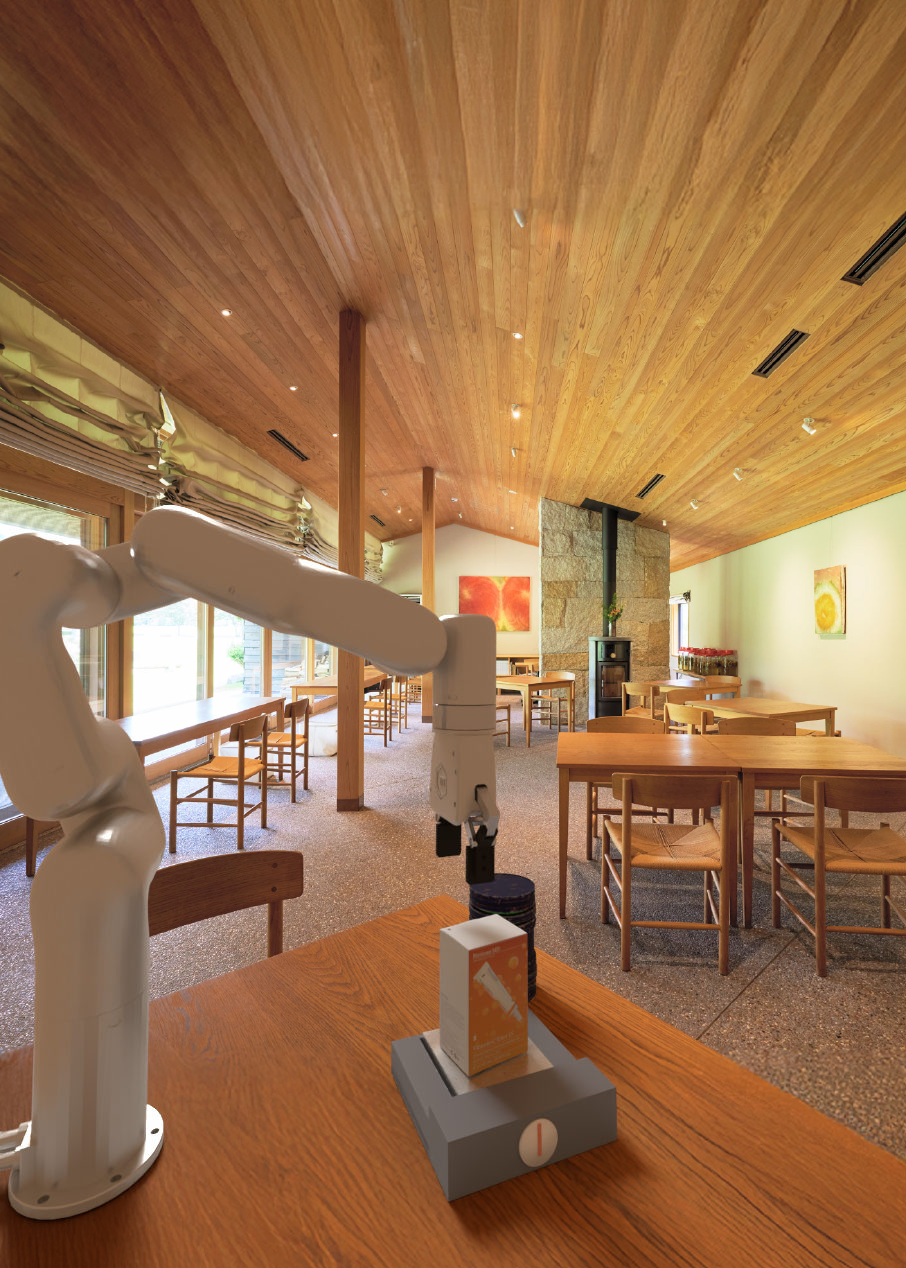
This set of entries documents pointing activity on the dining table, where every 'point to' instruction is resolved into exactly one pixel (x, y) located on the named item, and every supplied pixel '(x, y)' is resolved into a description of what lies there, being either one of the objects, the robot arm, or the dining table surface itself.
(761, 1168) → the dining table surface
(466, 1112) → the scale
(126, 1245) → the dining table surface
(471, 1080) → the pan
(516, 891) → the navy cylindrical canister
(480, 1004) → the small box
